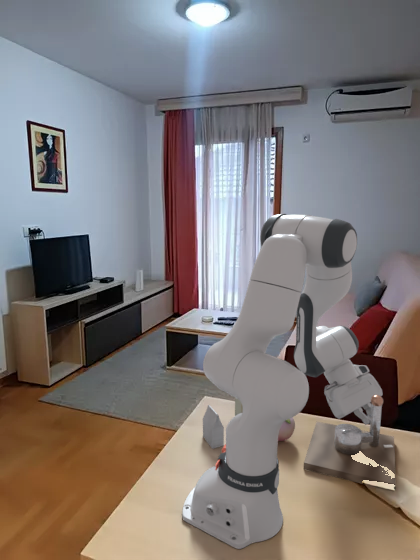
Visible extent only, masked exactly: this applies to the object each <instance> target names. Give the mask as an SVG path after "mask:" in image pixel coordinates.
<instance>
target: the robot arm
mask: <svg viewBox="0 0 420 560" xmlns="http://www.w3.org/2000/svg"><path fill="white" fill-rule="evenodd" d="M259 239H260V240H259V241H260V245H261V247H260V250H259V252H258V254H257V257H256V259H255V261H254V264H253V266H252V269H251V270H252V271H251V274H250V277H249V282H248V286H247V288H246V292H245V296H244V299H243V303H242V306H241V309H240V312H239V315H238V317H237V319H236V321H235V323H234V324H233V326H232V327H231V329H230V330H229V332H228V333H227V334H226V335H225V336H224V337H223V338H222V339H220V340H219V341H217V342H215V343H213V344H212V345H211V346H210V347H209V349H208V350H207V351H206V353H205V356H204V358H203V361H202V365H203V366H202V368H203V369H202V370H203V373H204V375H205V376H206V378H207V379H208V380H209V382H211V383H212V384H213V386H215V387H216V388H217V389H219V390H220V391H223V392H224V393H226V394H228V395H229V396H231V397H234V399H235V398H237V399H239V400H240V401H241V403H242V406H243V412H242V413H240V414H238V415H236V416H235V415H234V416H233V417H232V418H231V419H230V421H228V423H227V425H226V429H225V443H224V446H222V448H221V453H220V454H219V456H218V458H217V461H216V463H215V465H214V466H211V467H209V468H208V469H207V470H205V471H204V472H203V473H202V475H201V476H200V477H199V479H198V481H197V482H196V485H195V486H194V487H193V488H192V489H191V490H190V492H189V494H188V495H187V497H186V498H185V500H184V503H183V506H182V511H181V512H182V513H181V515H182V519H183V521H184V522H186V523H187V524H189V525H192V526H194V527H195V528H198V529H199V530H201V531H203V532H205V533H206V534H207V535H211V536H212V537H214V538H216V539H218V540H220V541H221V542H223V543H226V544H227V545H229V546H231V547H233V548H235V549H239V550H240V549H243V548H244V549H245V548H246V547H248V546H249V545H251V544H254V543H258V542H263V541H266V540H269V539H271V538H273V537H274V536H275V535H277V533H278V532H279V531H280V530H281V528H282V526H283V523H284V518H283V517H284V516H283V513H282V509H281V505H280V499H279V493H278V489H279V483H280V469H279V467H280V465H279V459H278V447H279V446H278V442H279V441H278V435H279V430H280V427H281V425H282V423H283V422H284V421H285V420H287V419H290V418H292V417H293V418H294V417H295V416H297V415H299V414H300V413H301V412H302V411H303V409H304V408H305V406H306V404H307V402H308V399H309V394H310V386H309V385H310V384H309V382H308V378H307V376H308V377H312V378H318V377H319V376H321V375H322V374H323V375H324V376H325V379H326V380H327V381H328V383H329V384H327V385H325V386H324V390H323V391H324V392H323V393H324V396H325V398H326V401H327V404H328V406H329V407H330V408H329V409H330V410H331V412H332V414H333V415H334V417H335V418H336V419H339V420H340V419H342V418H344V417H346V416H348V415H349V414H351V413H354V415H355V416H356V417H357V418H359V419H360V420H361V421H362V423H363V424H364V425H370V419H371V405H372V403H371V397H372V396H373V395H379V396H381V397H382V396H383V389H382V388H381V385H380V384H379V382H378V381H377V380H376V378H375V377H374V376H373V375H372V373H370V369H369V367H368V366H367V365H363V364H361V365H359V364H354V363H353V362H352V361H351V358H353V357H354V356H355V355H356V354H357V353H358V351H359V347H360V345H359V339H358V338H357V335H355V333H354V332H353V330H352V329H350V328H349V327H347V326H344V325H337V326H333V327H328V326H326V325H320V326H318V324H319V321H320V320H321V318H322V317H323V316H324V315H325V314H326V313H327V312H328V311H329V310H330V309H331V308H333V307H334V306H335V305H336V304H338V303H339V302H340V301H341V300H343V299H344V297H345V296H347V294H348V293H349V291H350V289H351V288H352V287H351V286H352V282H353V269H352V260H353V259H354V257H355V254H356V251H357V246H358V234H357V230H356V229H355V228H354V226H353V225H352V224H351V223H350V222H348V221H345V220H343V219H339V218H334V219H332V218H328V217H323V216H322V217H321V216H314V215H312V214H287V213H280V214H279V213H278V214H274V215H271V216H269V218H268V219H267V220H266V221H264V224H263V226H262V228H261V230H260V238H259ZM305 275H306V276H305ZM305 277H306V279H305ZM304 282H305V283H304ZM303 287H304V288H303ZM295 319H296V327H295V329H296V330H295V331H296V334H295V337H296V338H295V347H294V350H293V359H294V363H295V365H296V367H295V365H293V364H291V363H290V362H289V361H287V360H285V359H282V358H279V357H276V356H273V355H271V354H269V353H267V349H268V347H269V346H270V343H271V342H272V341H273V340H274V339H275V338H277V337H279V336H282V335H286V333H288V332H289V331H290V330H291V329H292V328H293V326H294V324H295V323H294V322H295ZM363 409H364V410H365V412H366V414H365V412H363V411H364V410H363Z"/></svg>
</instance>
